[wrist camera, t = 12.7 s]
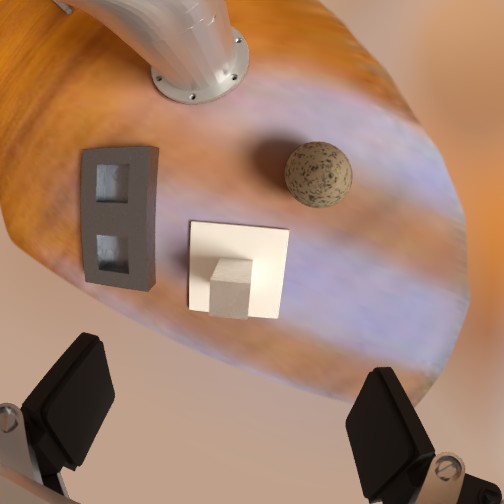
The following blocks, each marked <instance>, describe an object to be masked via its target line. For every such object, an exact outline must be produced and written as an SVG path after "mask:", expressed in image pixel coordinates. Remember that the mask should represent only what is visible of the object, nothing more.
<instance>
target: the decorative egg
mask: <svg viewBox="0 0 504 504" xmlns="http://www.w3.org/2000/svg"><path fill="white" fill-rule="evenodd" d="M285 182H286V185H287V187H288V190H289V191H290V193H291V194H292V195H293V196H294V198H295V199H297V200H298V201H299V202H301V203H302V204H304V205H306V206H309V207H313V208H326V207H330V206H333V205H335V204H337V203H338V202H340V201H341V200H342V199H343V198H344V197H345V196H346V194H347V193H348V191H349V189H350V187H351V184H352V168H351V165H350V163H349V160H348V159H347V157H346V156H345V154H344V153H343V152H342V151H341V150H339V149H338V148H337V147H335V146H333V145H331V144H329V143H325V142H310V143H306V144H304V145H302V146H300V147H298V148H297V149H296V150H295V151H294V152H293V153H292V154H291V155H290V156H289V159H288V161H287V163H286V166H285Z"/></svg>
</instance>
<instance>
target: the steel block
mask: <svg viewBox="0 0 504 504" xmlns="http://www.w3.org/2000/svg"><path fill="white" fill-rule="evenodd" d="M252 266H253V260H248V259H238V258H227V257H221V258H220V260H219V262H218V264H217V266H216V268H215V271H214V273H213V275H212V277H211V279H210V296H209V316H217V317H226V318H236V319H246V320H247V319H248V309H249V298H250V288H251V277H252Z"/></svg>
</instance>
